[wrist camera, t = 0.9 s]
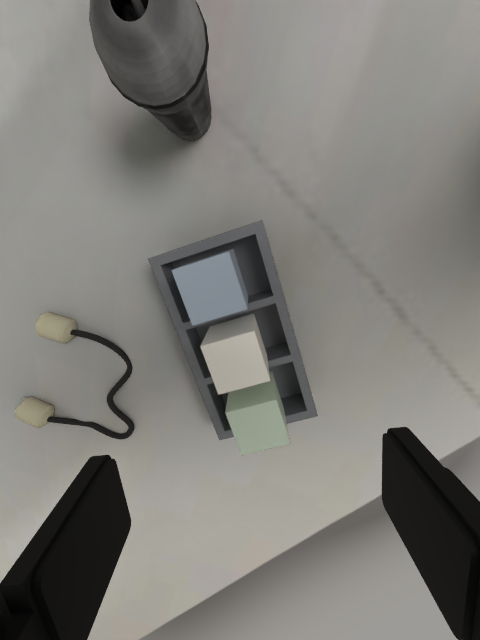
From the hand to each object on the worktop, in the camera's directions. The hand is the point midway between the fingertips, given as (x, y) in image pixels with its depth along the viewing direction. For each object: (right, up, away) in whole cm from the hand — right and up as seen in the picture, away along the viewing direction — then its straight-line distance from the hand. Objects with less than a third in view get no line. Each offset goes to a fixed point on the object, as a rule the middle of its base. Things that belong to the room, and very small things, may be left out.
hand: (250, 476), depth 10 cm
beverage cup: (-6, +27, +20) cm, 34 cm away
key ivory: (0, +3, +22) cm, 22 cm away
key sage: (+2, -3, +23) cm, 24 cm away
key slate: (-3, +10, +20) cm, 22 cm away
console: (0, +4, +26) cm, 26 cm away
